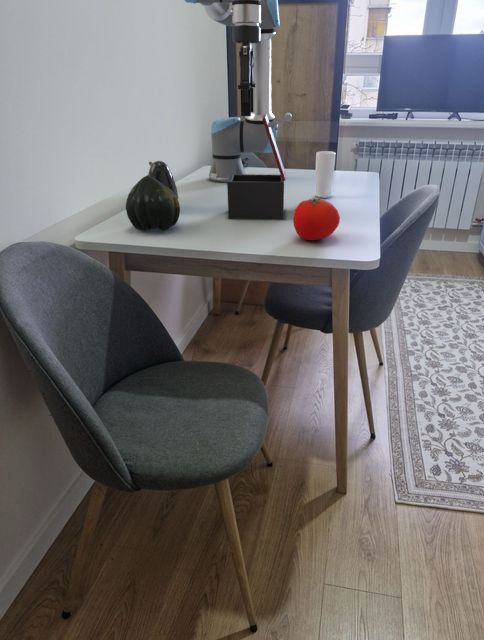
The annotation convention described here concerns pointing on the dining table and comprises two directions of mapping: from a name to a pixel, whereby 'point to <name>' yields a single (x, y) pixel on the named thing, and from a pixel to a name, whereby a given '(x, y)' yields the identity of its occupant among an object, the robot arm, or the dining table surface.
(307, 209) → the tomato
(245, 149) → the robot arm
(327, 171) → the drinking glass
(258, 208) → the black storage bin
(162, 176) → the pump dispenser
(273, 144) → the lid
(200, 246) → the dining table surface
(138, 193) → the squash
